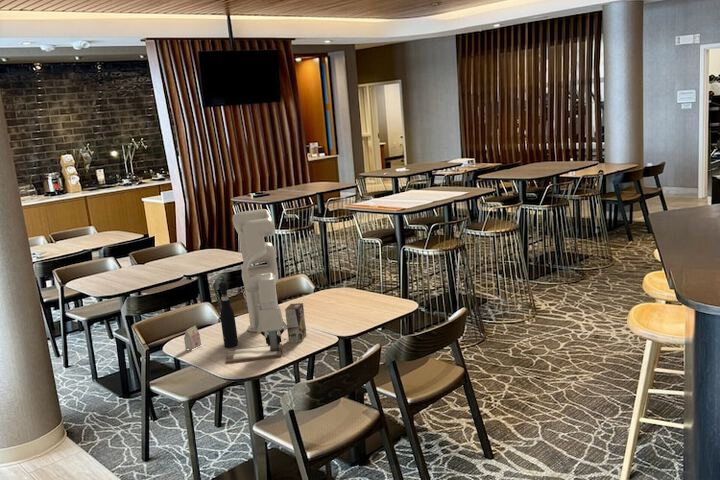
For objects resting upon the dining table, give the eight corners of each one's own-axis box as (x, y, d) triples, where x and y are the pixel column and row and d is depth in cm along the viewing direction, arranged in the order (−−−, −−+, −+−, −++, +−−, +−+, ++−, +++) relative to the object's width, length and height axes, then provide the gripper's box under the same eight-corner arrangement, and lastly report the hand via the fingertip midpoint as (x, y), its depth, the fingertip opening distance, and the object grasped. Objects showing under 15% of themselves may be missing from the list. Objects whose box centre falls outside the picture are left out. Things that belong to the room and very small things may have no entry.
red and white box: (185, 350, 310) (182, 330, 308) (195, 345, 316) (192, 325, 314) (192, 351, 308) (189, 330, 306) (201, 345, 314) (198, 325, 312)
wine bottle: (240, 343, 312) (232, 281, 306) (234, 348, 306) (225, 285, 300) (228, 343, 314) (220, 281, 308) (221, 348, 308) (213, 285, 302)
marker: (270, 348, 298) (267, 323, 296) (279, 347, 298) (276, 322, 296) (269, 352, 294) (266, 326, 292) (279, 350, 294) (276, 325, 292)
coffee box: (301, 342, 306) (297, 308, 303) (288, 342, 307) (284, 309, 304) (307, 335, 314) (303, 302, 311) (294, 335, 316) (290, 303, 313)
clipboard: (229, 352, 302) (228, 347, 302) (282, 345, 304) (281, 341, 303) (225, 363, 288) (225, 359, 288) (281, 357, 290) (280, 352, 289)
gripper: (249, 309, 288) (254, 349, 292) (287, 305, 289) (292, 345, 292) (250, 304, 295) (255, 343, 299) (288, 300, 296) (293, 339, 300)
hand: (274, 343), depth 296 cm, fingers closed on marker, 4 cm apart
